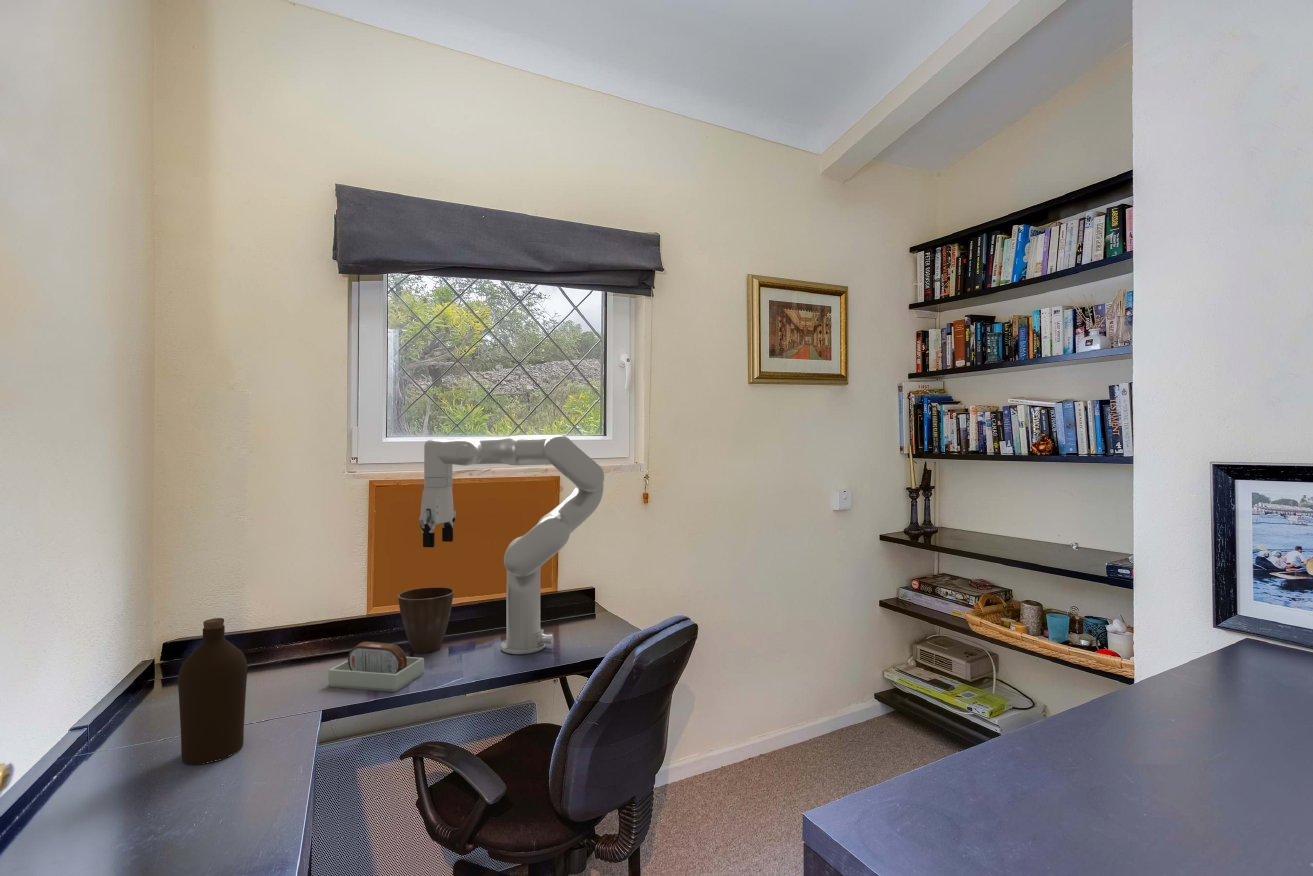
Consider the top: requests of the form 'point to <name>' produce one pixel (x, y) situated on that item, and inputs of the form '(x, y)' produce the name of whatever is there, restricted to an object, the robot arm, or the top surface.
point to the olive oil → (212, 697)
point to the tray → (375, 677)
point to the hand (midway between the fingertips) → (438, 544)
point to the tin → (377, 658)
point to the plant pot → (425, 616)
